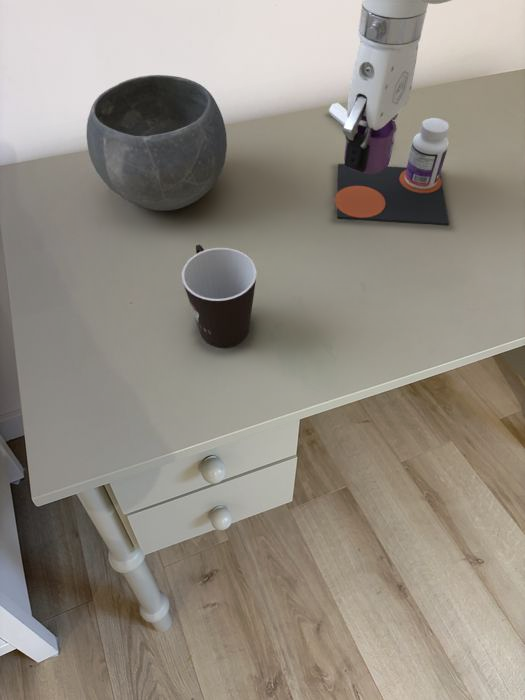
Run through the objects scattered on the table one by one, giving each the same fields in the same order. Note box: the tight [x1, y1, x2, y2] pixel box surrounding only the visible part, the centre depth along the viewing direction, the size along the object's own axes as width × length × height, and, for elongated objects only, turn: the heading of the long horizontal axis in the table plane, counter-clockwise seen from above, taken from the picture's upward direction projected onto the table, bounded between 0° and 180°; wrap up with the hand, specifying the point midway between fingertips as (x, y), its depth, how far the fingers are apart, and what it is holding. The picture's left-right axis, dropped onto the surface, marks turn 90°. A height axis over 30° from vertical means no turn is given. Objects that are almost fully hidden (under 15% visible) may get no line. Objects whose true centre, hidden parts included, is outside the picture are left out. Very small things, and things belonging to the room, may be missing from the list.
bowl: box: [86, 74, 228, 211], centre depth 80 cm, size 20×20×15 cm
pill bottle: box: [405, 117, 450, 189], centre depth 83 cm, size 5×5×10 cm
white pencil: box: [328, 102, 348, 127], centre depth 95 cm, size 3×2×16 cm
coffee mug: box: [181, 244, 258, 349], centre depth 66 cm, size 12×9×10 cm
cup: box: [343, 116, 398, 174], centre depth 76 cm, size 7×7×6 cm
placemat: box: [334, 163, 450, 226], centre depth 86 cm, size 18×14×1 cm
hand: (367, 155), depth 77 cm, fingers closed on cup, 6 cm apart
